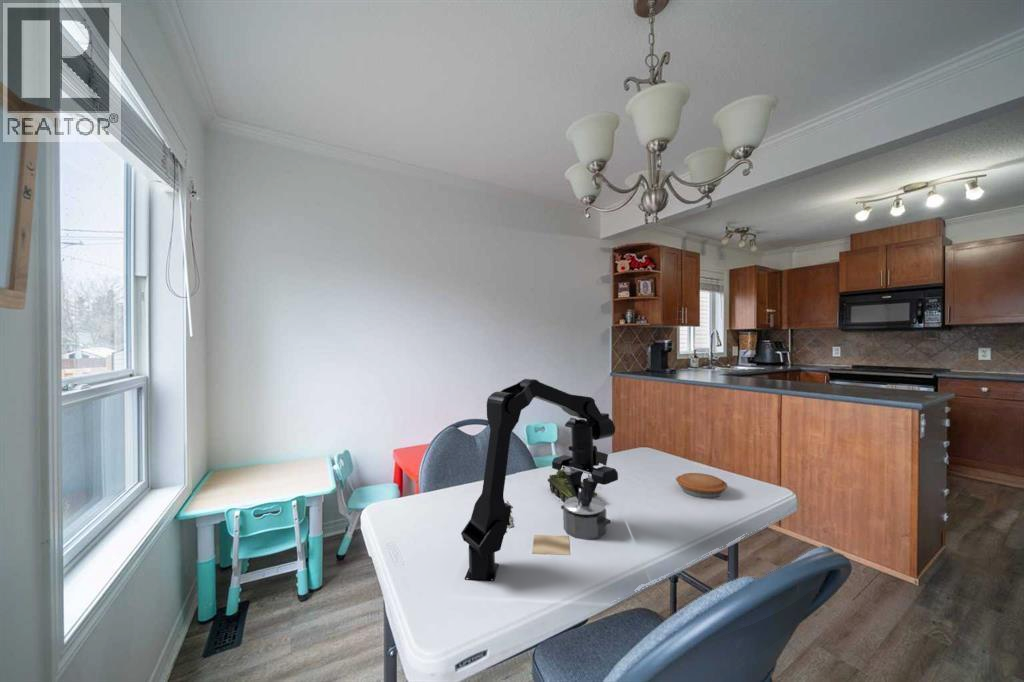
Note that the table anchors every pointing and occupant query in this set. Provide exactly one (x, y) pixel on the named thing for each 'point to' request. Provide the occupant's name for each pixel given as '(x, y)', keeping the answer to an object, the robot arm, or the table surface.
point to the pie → (701, 485)
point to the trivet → (551, 545)
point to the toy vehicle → (562, 486)
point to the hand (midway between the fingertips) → (584, 500)
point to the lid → (583, 504)
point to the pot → (585, 525)
